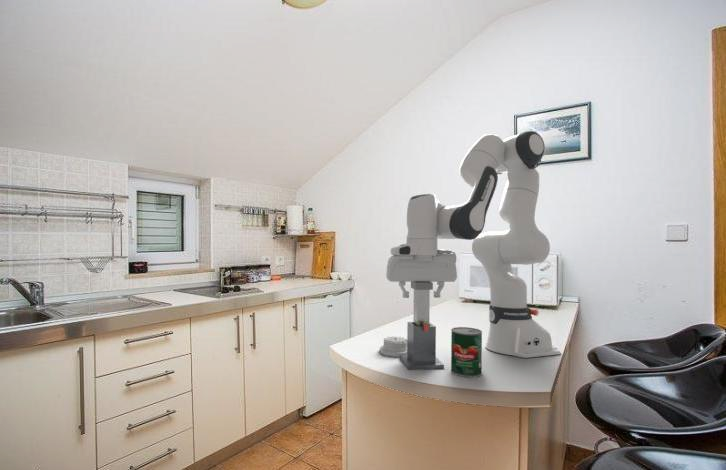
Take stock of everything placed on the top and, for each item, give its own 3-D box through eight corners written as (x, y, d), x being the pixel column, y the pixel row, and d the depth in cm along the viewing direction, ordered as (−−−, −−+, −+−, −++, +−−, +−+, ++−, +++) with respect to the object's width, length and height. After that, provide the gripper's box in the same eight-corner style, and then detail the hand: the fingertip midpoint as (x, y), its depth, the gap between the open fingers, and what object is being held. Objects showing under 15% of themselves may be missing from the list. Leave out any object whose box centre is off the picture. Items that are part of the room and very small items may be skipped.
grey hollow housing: (432, 357, 105) (432, 317, 106) (444, 368, 95) (444, 324, 96) (399, 358, 104) (400, 317, 104) (408, 369, 94) (408, 324, 94)
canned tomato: (455, 377, 89) (455, 333, 89) (447, 366, 97) (447, 326, 97) (486, 377, 89) (486, 334, 90) (476, 367, 97) (476, 327, 97)
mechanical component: (412, 358, 104) (411, 349, 114) (412, 343, 104) (411, 335, 114) (378, 357, 105) (380, 347, 115) (378, 342, 106) (380, 334, 115)
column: (426, 339, 103) (427, 280, 103) (432, 343, 98) (432, 282, 98) (410, 339, 102) (410, 280, 103) (415, 344, 97) (415, 282, 98)
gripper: (452, 249, 105) (451, 295, 105) (385, 248, 103) (384, 296, 102) (460, 249, 99) (460, 298, 99) (389, 248, 96) (389, 299, 96)
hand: (421, 297), depth 100 cm, fingers open, 8 cm apart
